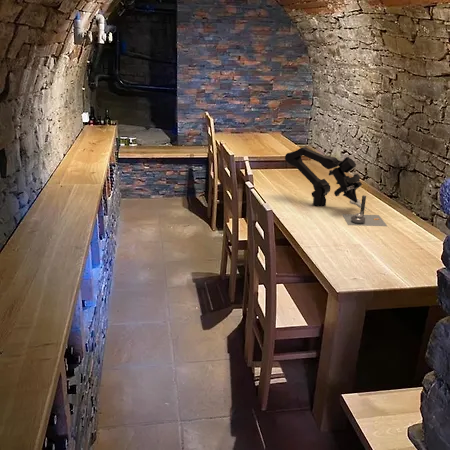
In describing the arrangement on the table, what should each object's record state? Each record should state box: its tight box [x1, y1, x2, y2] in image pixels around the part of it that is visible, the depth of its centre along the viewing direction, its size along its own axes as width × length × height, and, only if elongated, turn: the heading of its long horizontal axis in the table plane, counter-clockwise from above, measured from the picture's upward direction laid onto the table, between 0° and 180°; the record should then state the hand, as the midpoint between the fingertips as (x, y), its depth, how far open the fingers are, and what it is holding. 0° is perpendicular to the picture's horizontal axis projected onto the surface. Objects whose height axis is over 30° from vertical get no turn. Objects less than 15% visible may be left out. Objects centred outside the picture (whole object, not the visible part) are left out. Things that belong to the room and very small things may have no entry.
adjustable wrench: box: [349, 198, 374, 213], centre depth 279 cm, size 25×6×2 cm, turn 4°
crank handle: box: [351, 194, 367, 224], centre depth 254 cm, size 8×13×11 cm, turn 178°
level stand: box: [341, 213, 388, 227], centre depth 257 cm, size 20×17×1 cm
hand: (356, 202), depth 262 cm, fingers closed
